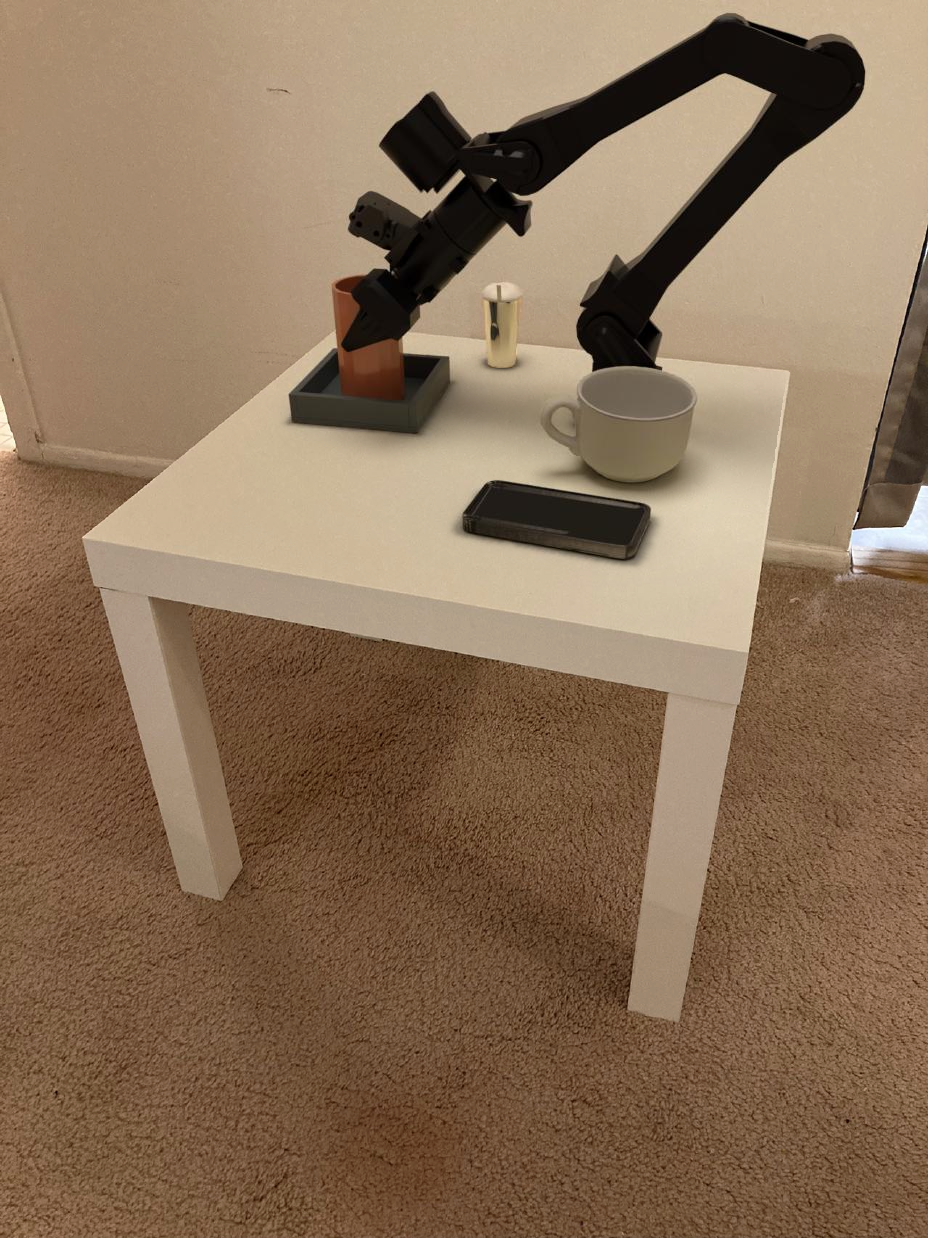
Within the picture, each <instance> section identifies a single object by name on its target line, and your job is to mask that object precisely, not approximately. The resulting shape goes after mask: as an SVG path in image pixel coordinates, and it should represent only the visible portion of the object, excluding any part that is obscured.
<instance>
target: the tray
mask: <svg viewBox="0 0 928 1238" xmlns="http://www.w3.org/2000/svg"><path fill="white" fill-rule="evenodd" d="M403 360H404V379H405V397H404V399H403V400H390V399H377V398H365V397H353V396H342V394H341V384H340V373H339V362H338V352H337V347H333V348H332V349H331V350H330V351H329V352H328V353H327V354H326V355H325V356H324V357H323V358H322V359H321V360H320V361H319V362H318V363H317V364H316V365H315V367H314V368H312V369H311V370H310V372H308V373H307V375H305V376H304V378H303V379H302V380H301V381H300V382H299V383H298V384H296V386H295V387H294V388H293V389H292V390H291V391H290V392H289V393H288V403H289V409H290V418H291V423H298V424H307V425H318V426H319V425H320V426H330V427H331V426H332V427H340V428H341V427H342V428H354V429H363V430H364V429H365V430H376V431H377V430H378V431H388V432H398V433H410V434H418V433H419V432H420V430H421V428H422V427H423V425H424V424H425V422H426V421H427V420H428V418H429V416H430V415H431V413H432V412H433V410H434V408H435V407H436V405H437V404H438V402H439V400H441V398H442V396H443V395H444V393H445V392H446V390H447V389H448V387H449V386H450V384H451V365H450V364H451V363H450V356H449V355H437V354H436V355H435V354H420V353H409V352H403Z"/></svg>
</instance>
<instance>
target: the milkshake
mask: <svg viewBox="0 0 928 1238" xmlns="http://www.w3.org/2000/svg"><path fill="white" fill-rule="evenodd" d="M481 299H482V301H481V302H482V308H483V309H482V310H483V316H484V317H483V319H484V330H485V343H486V344H485V345H486V359H487V364H488V365H489V366H490V367H492V368H497V369H507V368H508V369H509V368H511V367H514V366H515V364H516V362H517V351H518V350H517V349H518V340H519V339H518V338H519V327H520V320H521V319H520V318H521V310H522V303H523V291H522V289H521V288H520V287H519V286H518V285H517V284H515V283H513V282H510V281H504V282H492V283H490V284H488V285H486V286H485V287H484V289H483V290H482V291H481Z"/></svg>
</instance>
